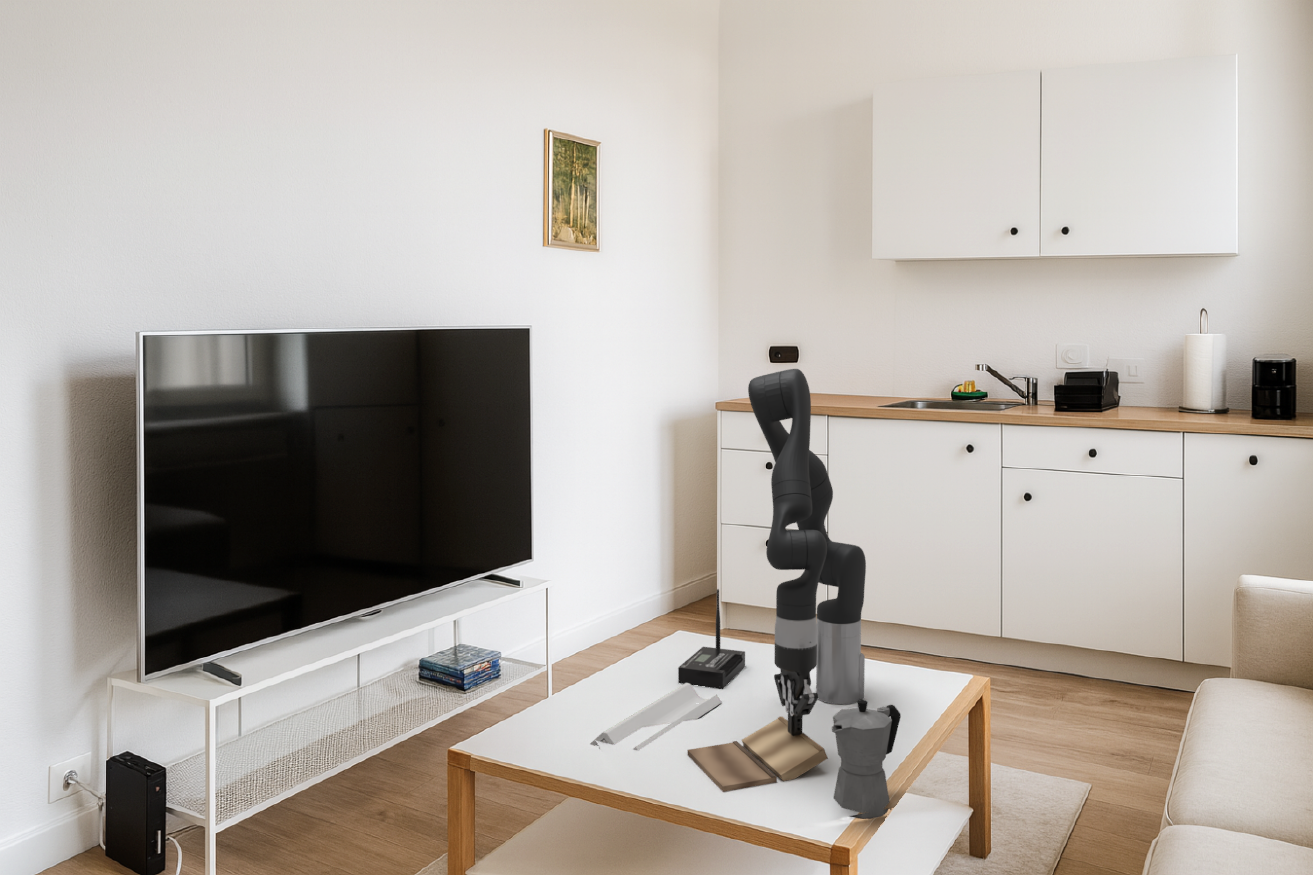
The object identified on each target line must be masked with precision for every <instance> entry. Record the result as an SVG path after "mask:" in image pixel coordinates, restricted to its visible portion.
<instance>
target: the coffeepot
mask: <svg viewBox="0 0 1313 875" xmlns="http://www.w3.org/2000/svg"><path fill="white" fill-rule="evenodd" d="M868 703H869V701H867V699H866V700H864V699H859V700H858V701H857V707H855V708H845V709H843V708H842V709H840V710H838V712H837V713H835V715H833V716H832V719H833V720H832V721H833V725H832V726H831V732H833V733H834V734H835V741H836V747H837V755H838V756H839V758H840V761H841V762H840V766H839V767H838V773H837V777H836V782H835V788H834V793H833V799H834V801H835V802H836V803H837V804H838V806H840V807H841V808H842V809H845V810H850V811H854V812H856V813H858V814H851V815H849V817H851V818H854V819H861V820H868V819H870V820H871V819H878V818H880V817H883V816H885V815H886V814H887V813H888V811H889V808H886V807H887V806H888V805H889V804H890V802H891V801H890V795H889V790H888V783H887V777H886V771H885V769H884V767H883V762H884V760H885V759H886V756H887V755H888V754H891V753H892V752H893V748H894V744H895V741H896V738H897V732H898V728H899V725H900V722H901V717H902V716H901V712H900V711H899V710H898V708H897V707H896V706H895V705H894V704H889V705H887V706H880V707H877V709H876V710H875V709H870V708H868Z"/></svg>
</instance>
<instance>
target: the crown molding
mask: <svg viewBox="0 0 1313 875" xmlns="http://www.w3.org/2000/svg"><path fill="white" fill-rule="evenodd" d="M696 703H699V704H696ZM722 703H723V701H722V700H721V698H720V696H718V695H717V694H715V695H713V696H712V697H710V698H708V699H707V698H703V697H701V696H700V695H699V694H698V692H697V691H696V690H695V689H694V686H693V685H691V684H690V683H685V684H681V685H680V686H678V687H677V688H674V690H671V691H670V692H668V693H666V694H664V695H663V696H661V697H660V698H658V699H656V700H655V701H652V702H651V703H649V704H648V705H646V706H645V707H643V708H642V709H640V710H637V711H636V712H634V713H632V714H631V715H629V716H628V717H626V718H624V719H623V720H621V721H620V722H618V723H616V724H613V726H611V727H610V728H607V729H606V730H605V731H603V732H601V733H600V734H599V735H597V737H596V738H595V739H594V740H592V741H591V742H590V743H589V745H591V746H595V745H596V746H598V745H599V742H601V743H602V742H603V743H607V744H610V745H617V744H618V743H620V742H622V741H623V740H624V739H627V738H628V737H629V736H631V735H632V734H634V733H636V732H637V731H639V730H641V729H643V728H649V727H655V726H663V725H667V726H665V727H664V728H663V729H661V730H659V731H658V732H656V733H655V734H653V735H651V736H649V737H648V738H647V739H645V740H644V741H642V742H640V743H639V744H638V745H635V747H633V748H632V750H634V751H640V750H642V749H643V748H645V747H647V746H648V745H649V744H651V743H653V742H654V741H656V740H657V739H658V738H660V737H662V736H663V735H664V734H666V733H667V732H669V731H671V730H672V729H674V728H675V727H677V726H678V725H680V724H682V723H683V722H688V721H696V720H698V719H700V718H701V717H702V716H704V715H705V714H707V713H709V712H710V711H712V709H714V708H715V707H717V706H719V705H720V704H722ZM597 741H598V742H597Z"/></svg>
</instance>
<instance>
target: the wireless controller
mask: <svg viewBox="0 0 1313 875" xmlns="http://www.w3.org/2000/svg"><path fill="white" fill-rule="evenodd" d="M720 612H721V611H720V589H719V588H717V589H716V612H715V647H708V646H702V647H701V648H699V649H698V650H697V651H695V653H694V654H692V655H691V656H690V657H689V658H687V659H686V660H685V661H684V662H683V663H682V664H681V665H680V666H678V668H677V670H678V671H677V672H678V674H677V675H678V677H677V678H678V682H677V683H678V684H679V683H683V684H685V683H690V684H691V686H694V685H698V686H697V687H702V686H705V687H704V688H709V687H710V689H711V688H712V689H718V690H719V689H720V690H724V689H725V688H726V687H727V686H728V685H729V684H730V683H731V682H732V681H733V680H734V679H735V678H736V677H737V676H738V675H739V674H740V673H741V672H742V671H743V670H744V669H745V668H746V651H744V650H734V649H727V648H721V614H720ZM729 682H730V683H729ZM728 683H729V684H728ZM683 684H682V685H683Z"/></svg>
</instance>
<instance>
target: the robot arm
mask: <svg viewBox="0 0 1313 875" xmlns="http://www.w3.org/2000/svg"><path fill="white" fill-rule="evenodd" d="M747 390H748V391H747V392H748V398H749V401H750V402H749V404H750V406H751V409H752V410H753V414H754V416H755V419H756V421H757V423H758V424H759V427H760V429H761V431H762V434H763V435H764V438H765V440H766V443H767V445H768V447H769V449H770V452H771V455H772V458H773V460H774V466H773V469H772V473H771V478H770V481H771V482H770V484H771V495H772V497H771V498H772V510H773V511H772V522H771V528H770V532H769V537H768V541H767V544H766V559H767V561H768V563H769V565H770V566H771V567H772V568H774V569H775V570H778V571H780V570H781V571H791V570H794V571H795V570H797V571H798V570H804V571H803V573H801V575H800V576H799V577H797V578H795V579H790V580H786V581H782V582H780V583H779V584H778V585H777V587H776V597H775V598H776V604H775V606H776V610H775V612H776V614H775V617H776V618H775V623H774V624H775V625H774V665H775V667H776V668H779V670H780V672H779V673H777V674H774V675H773V680H774V682H775V683H774V684H775V686H776V689H777V694H778V696H779V701H780V704H781V706H782V707H785V712H786V713H787V721H788V732H789V733H790V734H791V735H792V736H796V735H800V734H802V732H803V716H807V715H810V714H811V712H812V710H813V708H814V707H815V705H816V703H817V701H818V700H820V701H822V702H824V703H829V704H834V705H849V704H853V703H856V702H857V701H858V700H864V699H865V670H866V669H865V663H866V660H865V659H866V658H865V654H864V653H862V651H861V650H862V612H863V606H864V601H865V585H866V584H865V583H866V573H867V570H866V569H867V565H866V564H867V562H866V555H865V552H864V550H863V549H862V548H861V547H860V546H858V545H856V544H850V543H843V542H837V541H832V540H831V539H830V537H829V535H828V533H827V529H826V526H825V520H826V517H827V515H828V513H829V510H830V508H831V505H832V502H833V498H834V490H833V486H832V483H831V479H830V476H829V473H828V470H827V467H826V466H825V464H824V462H823V461H822V459H820V458H819V457H818V456H817V454H815V453H814V452H813V451H811V450H810V447H811V446H810V443H811V442H810V441H811V419H812V418H811V417H812V415H811V414H812V411H811V410H812V403H811V402H812V400H811V392H810V387H809V383H808V381H807V378H806V375H805V374H804V372H803V371H802V370H800V369H799V368H790V369H785V370H780V371H775V372H772V373H767V374H763V375H760V376H755V377H754V378H752V379H751V380H749V382H748V386H747ZM789 419H791V425H790V426H791V427H790V431H789V432H788V431H787V430H786V428H785V426H784V424H783V423H782V422H781V421H785V420H789ZM792 524H796V525H797V528H798V529H787V526H789V525H792ZM819 584H822V585H825V586H831V587H836V588H837V595H836V597H835V598H832V599H826V600H823V601H821V602H819V603H818V604H817V592H818V587H819V586H818V585H819ZM815 668H816V670H815V671H816V676H815V677H816V681H815V684H816V685H815V689H816V690H815V692H813V691H812V688H811V685H812V680H811V674H810V673H811V671H813V670H814V669H815ZM857 703H858V702H857Z"/></svg>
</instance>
